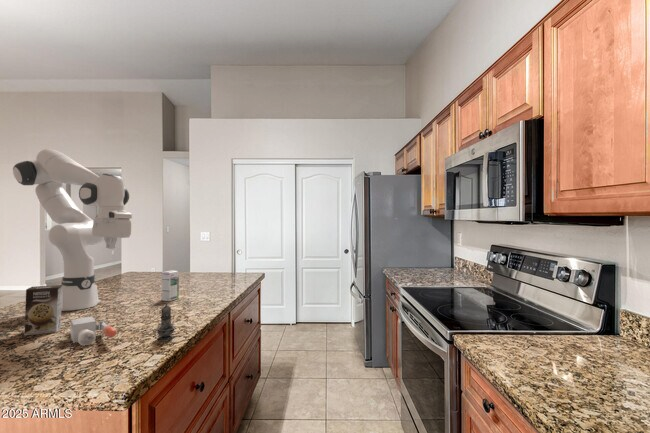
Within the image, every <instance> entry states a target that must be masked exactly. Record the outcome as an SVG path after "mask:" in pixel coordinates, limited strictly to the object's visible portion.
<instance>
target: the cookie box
mask: <svg viewBox="0 0 650 433" xmlns="http://www.w3.org/2000/svg"><path fill="white" fill-rule="evenodd" d="M61 303H62V285H61V284H56V285H55V284H54V285H40V286H38V285H37V286H31V287H28V288H27V289H26V290H25V311H24V315H25V316H24V334H23V335H24V336H30V335H31V336H32V335H40V334H41V335H42V334H50V333H57V332H58V331H59V330H60V329H61V327H62V311H61Z"/></svg>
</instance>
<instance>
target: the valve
mask: <svg viewBox="0 0 650 433" xmlns="http://www.w3.org/2000/svg"><path fill="white" fill-rule="evenodd" d="M96 331H100V329H99V322H97V323H96V320H95V318H94V316H88V317H87V316H86V317H82V318H76V319H70V339H71V341H73V342H72V343H73V344H75V342H76V343H78V344H79V345H81V346H84V347H86V346H85V345H88V346H90V345H92V344H93V343H94V342H95V341H96V338H97V337H96V336H97V335H96Z"/></svg>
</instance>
